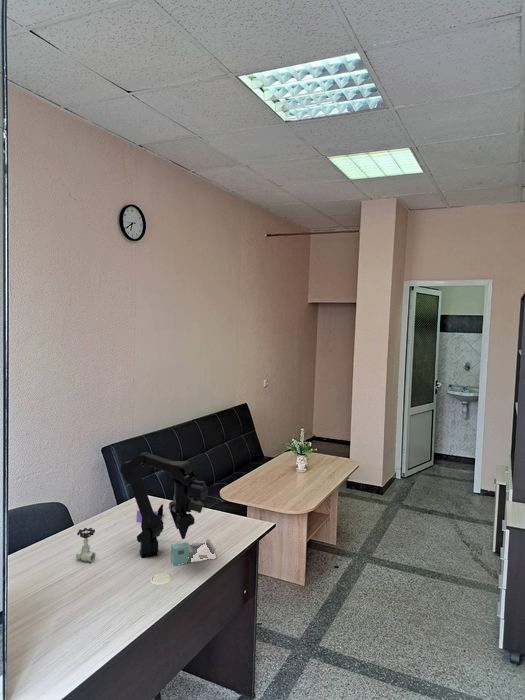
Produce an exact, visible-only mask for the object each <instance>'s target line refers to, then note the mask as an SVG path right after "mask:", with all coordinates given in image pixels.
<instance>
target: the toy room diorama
mask: <svg viewBox="0 0 525 700" xmlns="http://www.w3.org/2000/svg"><path fill="white" fill-rule="evenodd" d="M153 512H154V513H155V514H156V515H157V516H158V515H161V518H162V517H163V516H164V504H163V503H161V504H160V506H159V508H158V510H153ZM141 522H142V516H141V513H140V510H139V509H138V510H136V523H141Z"/></svg>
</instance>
